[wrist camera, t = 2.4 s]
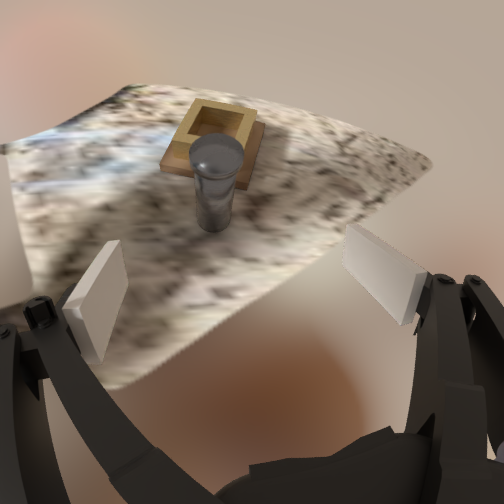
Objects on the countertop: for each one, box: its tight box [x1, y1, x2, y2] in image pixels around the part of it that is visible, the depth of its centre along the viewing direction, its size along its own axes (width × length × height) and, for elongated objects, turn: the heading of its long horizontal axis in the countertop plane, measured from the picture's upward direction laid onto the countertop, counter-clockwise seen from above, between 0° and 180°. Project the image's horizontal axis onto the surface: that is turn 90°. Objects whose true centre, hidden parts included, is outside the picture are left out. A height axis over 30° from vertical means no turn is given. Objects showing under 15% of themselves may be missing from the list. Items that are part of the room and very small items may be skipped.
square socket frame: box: [172, 98, 257, 161], centre depth 35 cm, size 9×9×4 cm
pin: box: [189, 133, 244, 232], centre depth 29 cm, size 5×5×12 cm
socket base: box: [159, 121, 265, 190], centre depth 38 cm, size 12×12×2 cm
